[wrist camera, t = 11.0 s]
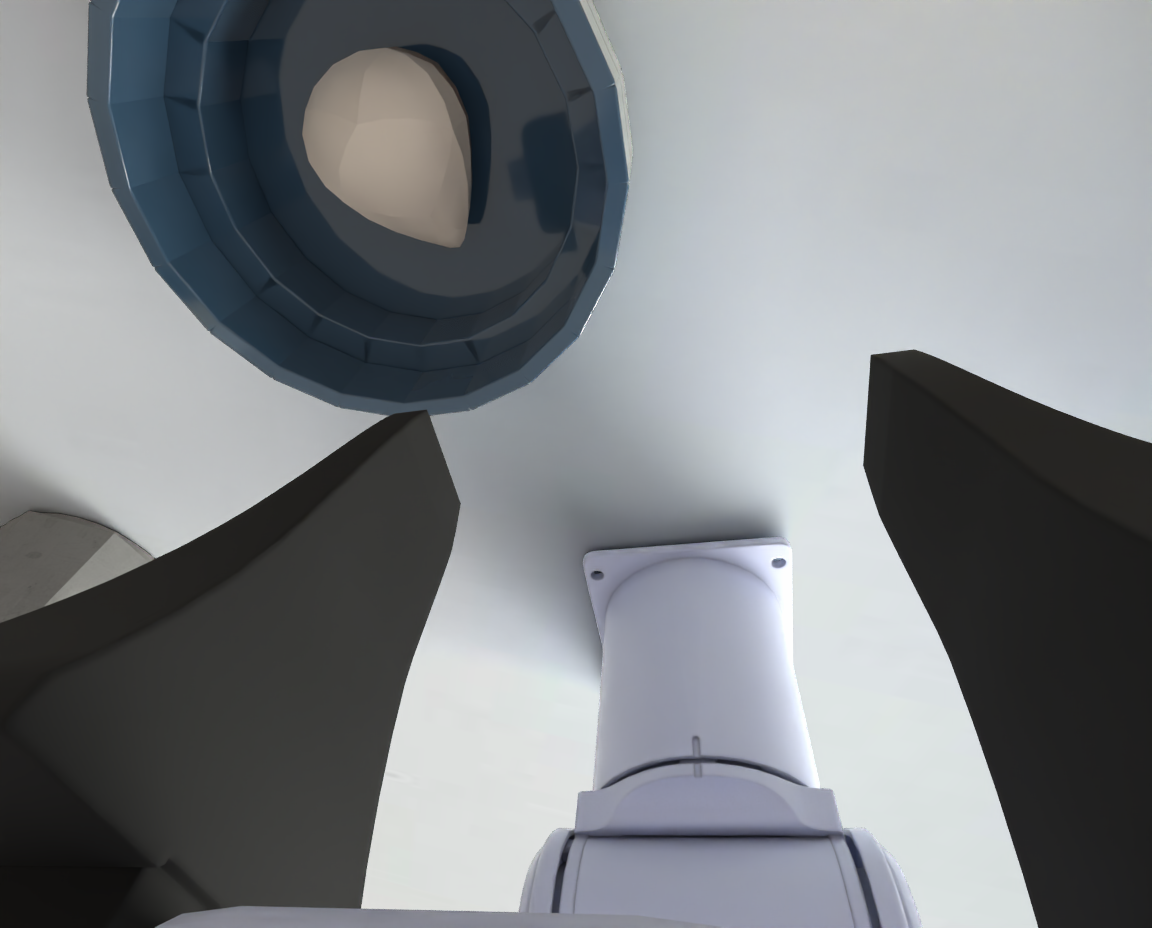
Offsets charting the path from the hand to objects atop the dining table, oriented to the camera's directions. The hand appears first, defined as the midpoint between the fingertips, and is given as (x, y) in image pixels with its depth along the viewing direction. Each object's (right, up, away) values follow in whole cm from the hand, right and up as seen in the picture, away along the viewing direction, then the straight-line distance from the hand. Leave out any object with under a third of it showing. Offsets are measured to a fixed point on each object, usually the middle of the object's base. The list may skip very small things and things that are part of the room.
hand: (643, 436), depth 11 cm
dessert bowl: (-6, +8, +8) cm, 13 cm away
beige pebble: (-5, +8, +7) cm, 12 cm away
